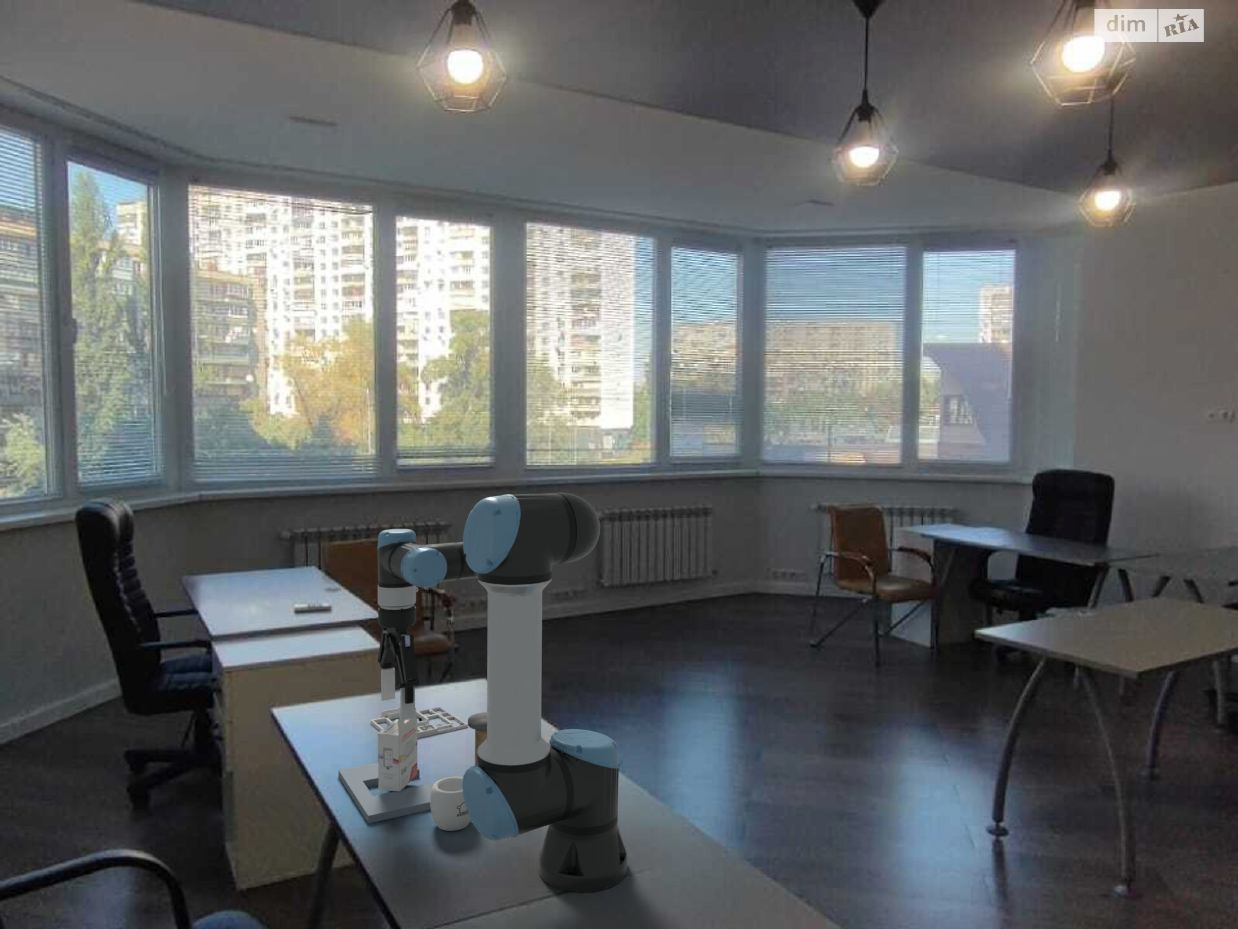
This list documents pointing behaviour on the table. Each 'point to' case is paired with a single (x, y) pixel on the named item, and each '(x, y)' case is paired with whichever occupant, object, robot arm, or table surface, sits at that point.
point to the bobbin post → (478, 729)
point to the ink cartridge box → (397, 754)
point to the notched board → (382, 795)
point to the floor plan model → (429, 728)
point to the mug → (449, 804)
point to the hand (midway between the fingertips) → (397, 708)
